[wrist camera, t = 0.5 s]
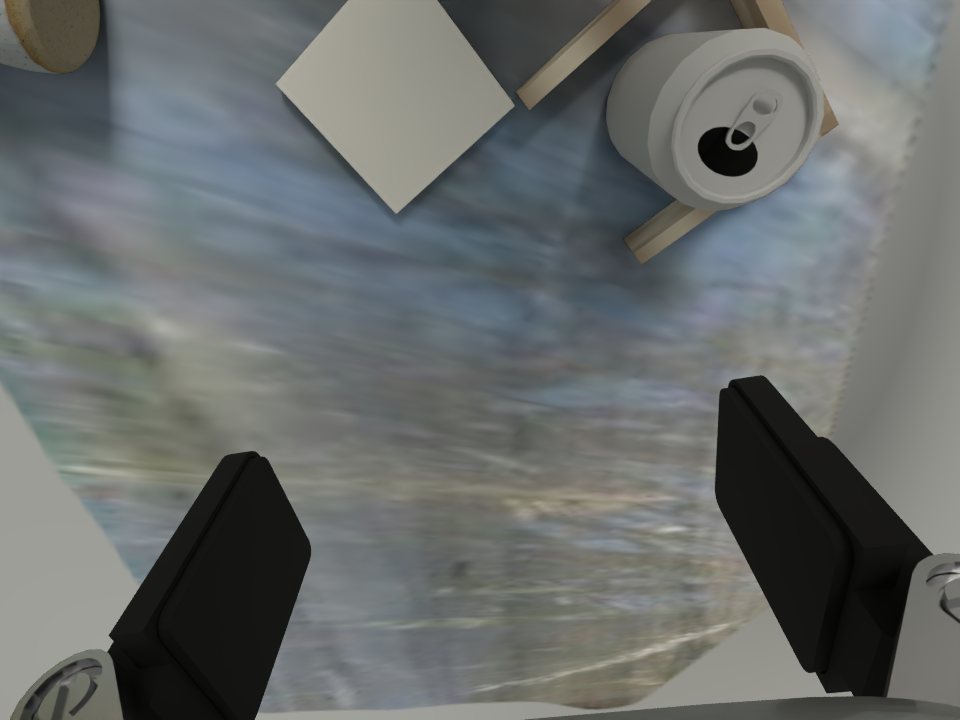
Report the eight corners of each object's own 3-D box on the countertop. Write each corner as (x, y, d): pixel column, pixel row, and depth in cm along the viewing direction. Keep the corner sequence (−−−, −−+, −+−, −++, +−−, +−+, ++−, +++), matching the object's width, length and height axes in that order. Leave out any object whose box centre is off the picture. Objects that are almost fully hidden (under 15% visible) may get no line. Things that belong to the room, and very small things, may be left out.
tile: (398, -52, 28) (396, -56, 28) (514, 104, 32) (515, 105, 31) (281, 82, 32) (275, 83, 31) (398, 210, 36) (396, 214, 35)
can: (580, 137, 33) (624, 177, 23) (647, 7, 30) (734, -14, 19) (679, 188, 35) (761, 247, 25) (753, 70, 31) (886, 81, 21)
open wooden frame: (710, -89, 28) (733, -103, 25) (810, 118, 33) (838, 124, 30) (515, 91, 32) (518, 95, 29) (630, 249, 37) (641, 264, 34)
